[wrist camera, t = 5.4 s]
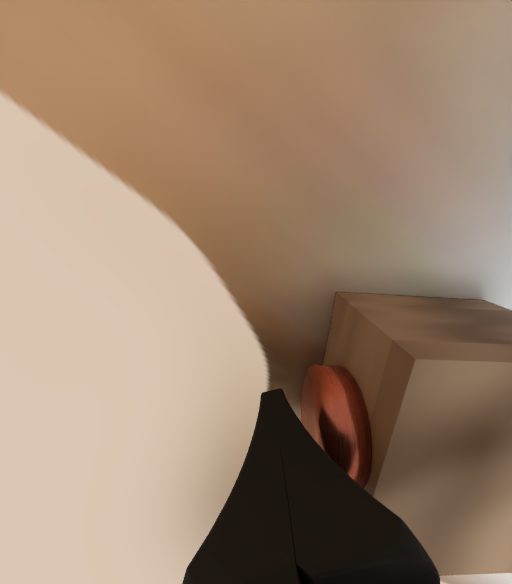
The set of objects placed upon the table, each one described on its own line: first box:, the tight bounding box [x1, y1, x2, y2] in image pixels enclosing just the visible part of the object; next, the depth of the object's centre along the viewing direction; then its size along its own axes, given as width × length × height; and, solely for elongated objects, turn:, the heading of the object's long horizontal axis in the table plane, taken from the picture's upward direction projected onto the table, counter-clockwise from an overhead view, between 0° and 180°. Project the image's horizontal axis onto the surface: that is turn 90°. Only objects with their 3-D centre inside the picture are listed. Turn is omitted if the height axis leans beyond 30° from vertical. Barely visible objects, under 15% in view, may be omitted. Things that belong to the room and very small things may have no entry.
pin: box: [301, 365, 372, 488], centre depth 12 cm, size 12×5×5 cm, turn 86°
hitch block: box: [323, 292, 512, 576], centre depth 12 cm, size 8×10×6 cm
